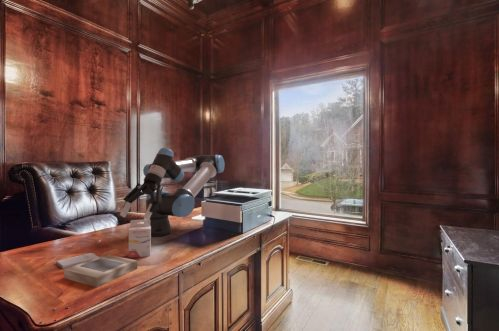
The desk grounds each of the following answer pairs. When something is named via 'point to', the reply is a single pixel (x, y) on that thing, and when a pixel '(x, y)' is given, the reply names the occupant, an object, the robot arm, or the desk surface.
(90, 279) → the ash base block
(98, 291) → the desk surface
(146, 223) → the ink cartridge box
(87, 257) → the external hard drive
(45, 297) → the desk surface
